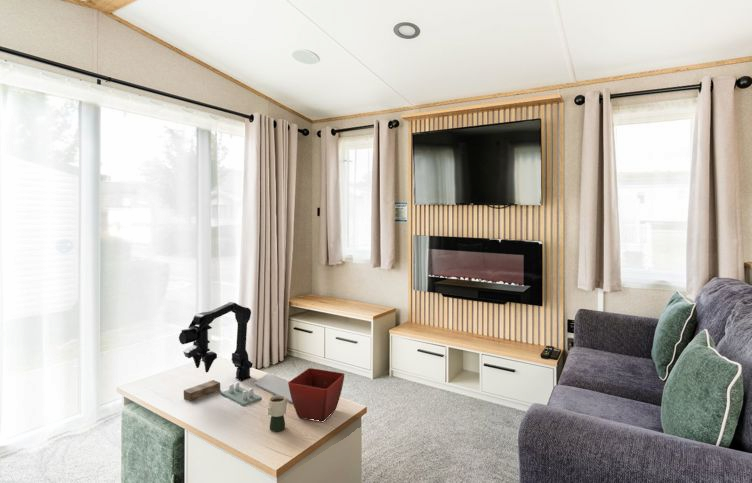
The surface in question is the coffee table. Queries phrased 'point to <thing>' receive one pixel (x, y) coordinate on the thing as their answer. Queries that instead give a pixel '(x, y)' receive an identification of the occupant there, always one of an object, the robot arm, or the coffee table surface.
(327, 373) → the plant pot
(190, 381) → the coffee table surface
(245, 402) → the peg base
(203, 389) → the walnut shelf board
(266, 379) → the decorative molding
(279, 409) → the character mug
